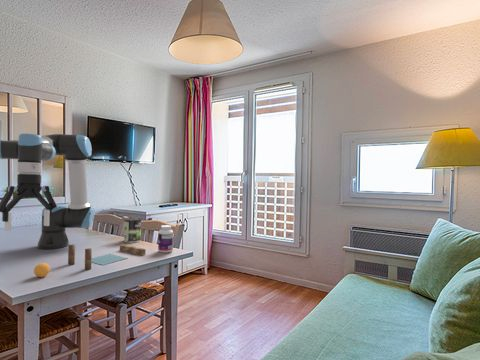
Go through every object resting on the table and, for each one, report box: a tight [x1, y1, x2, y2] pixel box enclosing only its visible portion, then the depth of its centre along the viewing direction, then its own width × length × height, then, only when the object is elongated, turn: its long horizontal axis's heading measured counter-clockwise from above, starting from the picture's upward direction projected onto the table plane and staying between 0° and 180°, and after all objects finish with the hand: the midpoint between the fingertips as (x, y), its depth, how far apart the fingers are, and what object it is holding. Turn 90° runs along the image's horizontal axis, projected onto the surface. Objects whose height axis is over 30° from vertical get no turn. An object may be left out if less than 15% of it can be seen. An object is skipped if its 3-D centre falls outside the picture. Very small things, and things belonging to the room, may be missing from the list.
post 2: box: [84, 247, 93, 271], centre depth 131 cm, size 3×3×9 cm
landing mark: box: [91, 253, 128, 266], centre depth 146 cm, size 14×14×1 cm
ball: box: [33, 262, 51, 278], centre depth 120 cm, size 6×6×6 cm
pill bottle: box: [157, 224, 174, 254], centre depth 164 cm, size 8×8×14 cm
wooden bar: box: [119, 244, 147, 256], centre depth 160 cm, size 18×2×3 cm, turn 61°
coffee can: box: [123, 217, 142, 244], centre depth 187 cm, size 10×10×14 cm
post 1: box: [67, 244, 76, 266], centre depth 137 cm, size 3×3×9 cm
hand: (28, 228), depth 114 cm, fingers open, 13 cm apart
